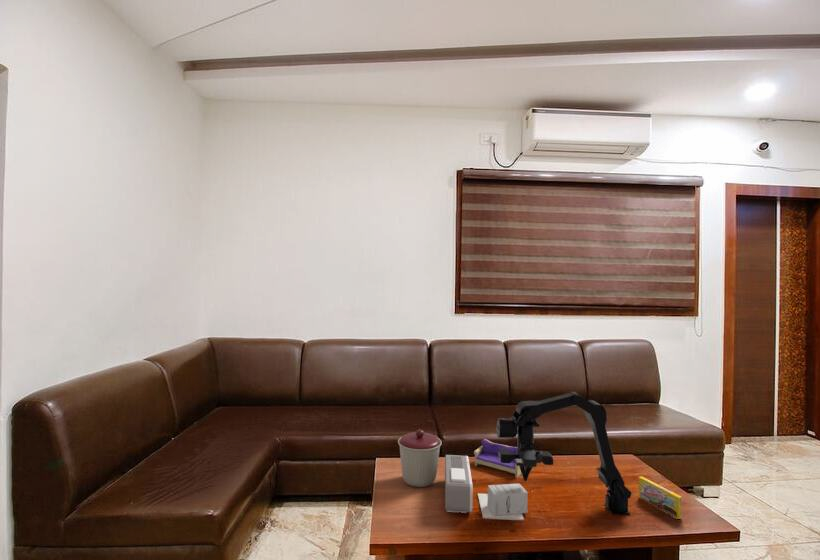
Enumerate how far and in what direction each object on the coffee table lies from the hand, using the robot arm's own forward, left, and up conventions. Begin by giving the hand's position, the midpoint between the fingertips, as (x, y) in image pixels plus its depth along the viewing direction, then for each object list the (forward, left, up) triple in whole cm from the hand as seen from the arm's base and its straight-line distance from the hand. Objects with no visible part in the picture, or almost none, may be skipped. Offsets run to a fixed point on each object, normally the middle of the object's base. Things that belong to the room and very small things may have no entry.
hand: (524, 480), depth 148 cm
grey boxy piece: (+24, -6, -10) cm, 27 cm away
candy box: (-50, -5, -10) cm, 51 cm away
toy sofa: (+4, -32, -10) cm, 34 cm away
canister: (+39, -17, -10) cm, 44 cm away
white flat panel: (+9, 0, -10) cm, 14 cm away
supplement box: (0, +1, -6) cm, 6 cm away
